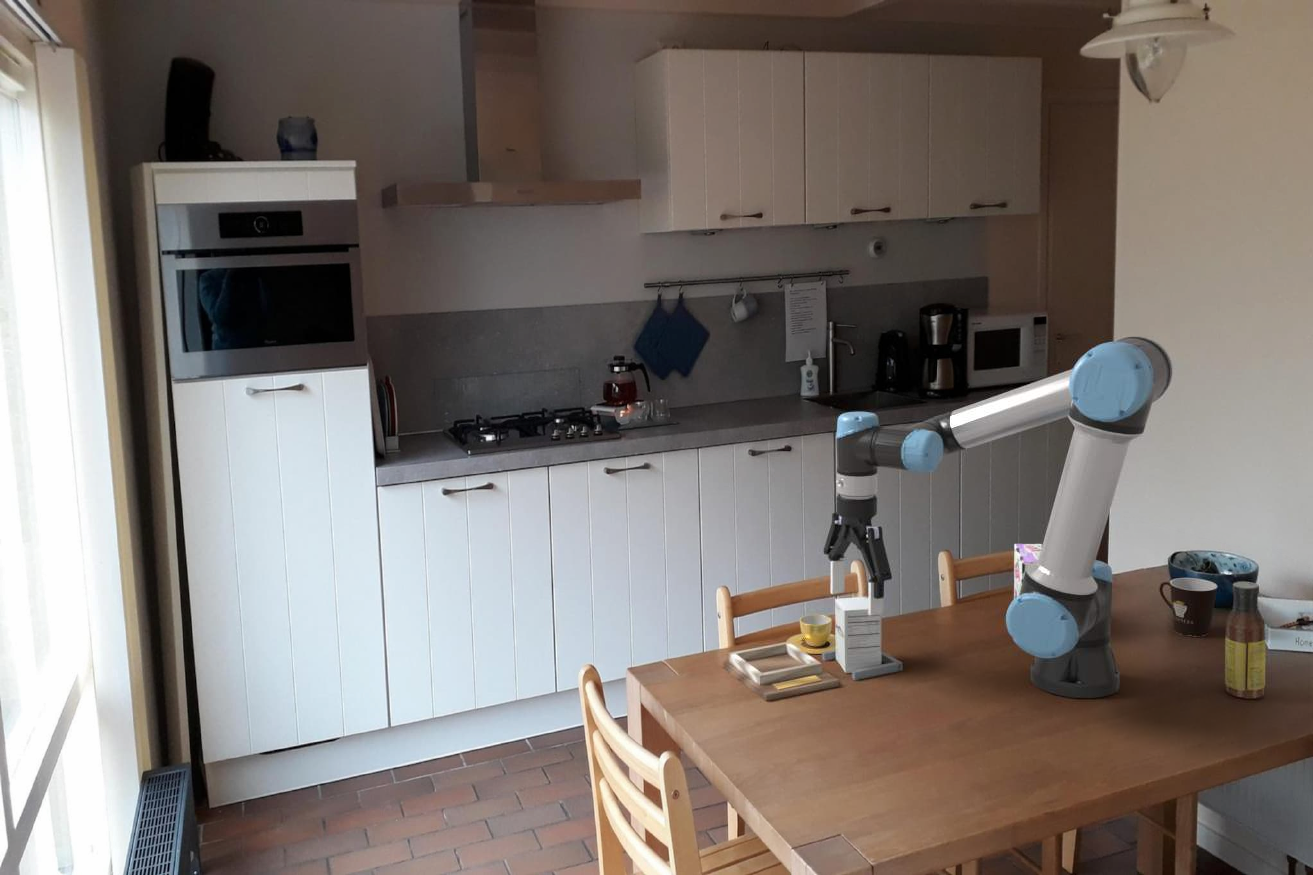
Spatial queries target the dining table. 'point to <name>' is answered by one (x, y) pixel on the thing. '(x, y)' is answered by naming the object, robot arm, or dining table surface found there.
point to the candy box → (1023, 562)
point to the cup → (814, 634)
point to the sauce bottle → (1245, 644)
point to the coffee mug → (1191, 604)
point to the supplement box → (857, 634)
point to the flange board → (779, 671)
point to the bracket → (888, 667)
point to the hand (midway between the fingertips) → (856, 603)
